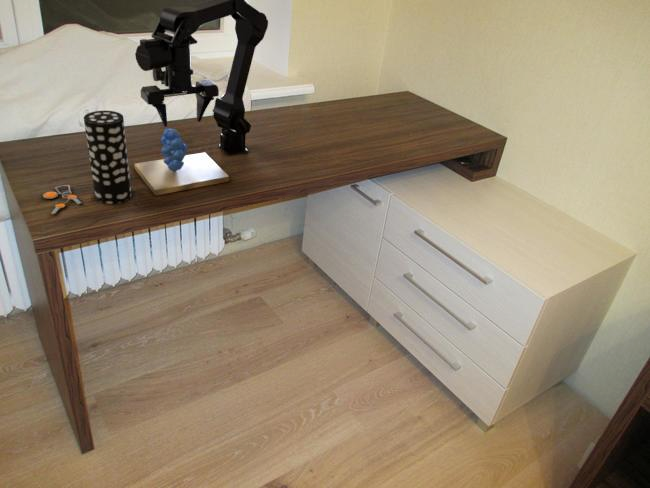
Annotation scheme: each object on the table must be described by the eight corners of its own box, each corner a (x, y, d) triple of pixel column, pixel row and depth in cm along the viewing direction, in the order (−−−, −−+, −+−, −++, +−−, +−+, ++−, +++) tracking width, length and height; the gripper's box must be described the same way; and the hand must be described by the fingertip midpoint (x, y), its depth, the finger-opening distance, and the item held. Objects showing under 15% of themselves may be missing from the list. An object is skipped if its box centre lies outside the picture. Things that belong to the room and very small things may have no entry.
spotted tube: (100, 186, 136) (89, 109, 125) (134, 188, 137) (127, 111, 126) (91, 203, 129) (78, 123, 118) (127, 204, 130) (118, 125, 119)
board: (204, 157, 156) (204, 152, 155) (229, 181, 145) (229, 176, 144) (134, 168, 145) (134, 163, 145) (155, 195, 135) (155, 190, 134)
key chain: (41, 190, 131) (40, 187, 131) (73, 185, 135) (73, 182, 134) (49, 215, 122) (49, 212, 122) (84, 209, 126) (83, 206, 125)
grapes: (198, 177, 142) (197, 134, 135) (173, 182, 138) (171, 138, 132) (180, 159, 150) (178, 117, 143) (156, 163, 146) (153, 121, 139)
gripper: (200, 51, 144) (202, 108, 153) (130, 57, 134) (136, 117, 143) (219, 64, 137) (220, 122, 145) (146, 70, 127) (151, 133, 136)
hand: (182, 123), depth 143 cm, fingers open, 9 cm apart
